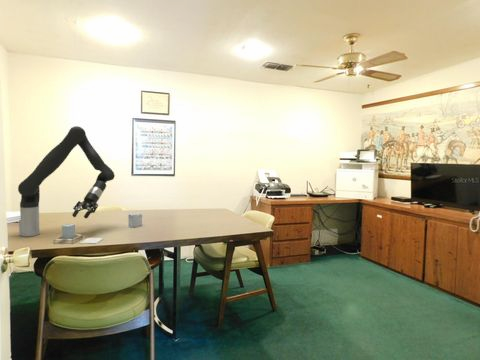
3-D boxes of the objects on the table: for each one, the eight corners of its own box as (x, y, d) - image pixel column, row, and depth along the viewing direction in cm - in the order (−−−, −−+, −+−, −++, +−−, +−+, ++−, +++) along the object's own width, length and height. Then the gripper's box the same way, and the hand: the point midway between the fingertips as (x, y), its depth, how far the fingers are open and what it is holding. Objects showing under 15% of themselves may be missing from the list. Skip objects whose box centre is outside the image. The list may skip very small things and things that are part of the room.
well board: (53, 243, 167) (53, 239, 167) (64, 237, 178) (63, 234, 178) (73, 243, 168) (73, 239, 168) (83, 238, 179) (83, 234, 179)
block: (62, 241, 172) (62, 225, 171) (68, 239, 176) (68, 224, 175) (68, 242, 170) (68, 226, 169) (75, 240, 175) (74, 224, 174)
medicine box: (138, 225, 215) (138, 213, 214) (142, 226, 212) (142, 213, 211) (128, 226, 209) (128, 214, 208) (131, 228, 206) (131, 215, 205)
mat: (79, 243, 168) (79, 242, 168) (87, 238, 178) (87, 237, 178) (96, 243, 169) (96, 242, 169) (103, 238, 179) (103, 238, 179)
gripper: (81, 191, 189) (65, 212, 179) (99, 192, 185) (85, 214, 175) (87, 198, 194) (73, 219, 184) (106, 200, 190) (92, 221, 180)
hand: (79, 217), depth 179 cm, fingers open, 8 cm apart
